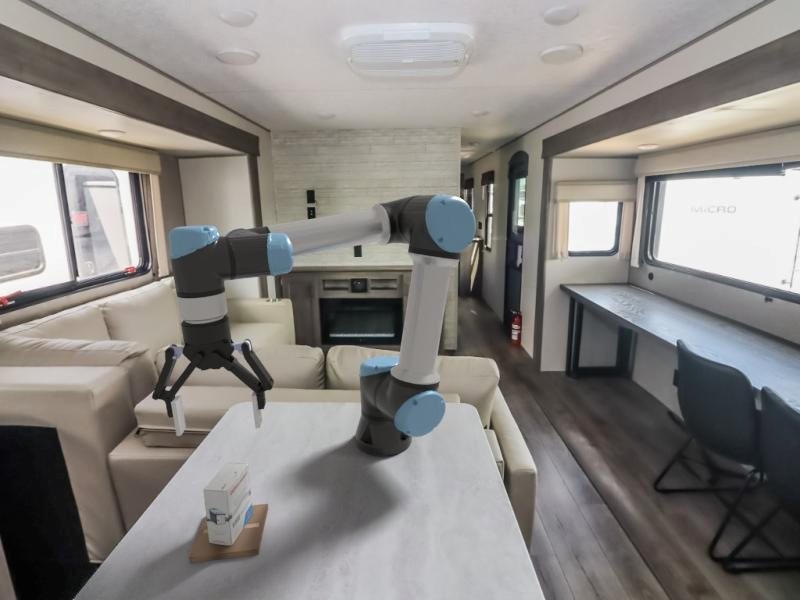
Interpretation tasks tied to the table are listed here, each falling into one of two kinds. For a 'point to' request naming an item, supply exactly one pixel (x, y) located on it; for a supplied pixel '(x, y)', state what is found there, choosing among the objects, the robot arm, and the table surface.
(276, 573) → the table surface
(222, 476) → the ink box
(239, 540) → the cardboard box
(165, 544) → the table surface
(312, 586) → the table surface
